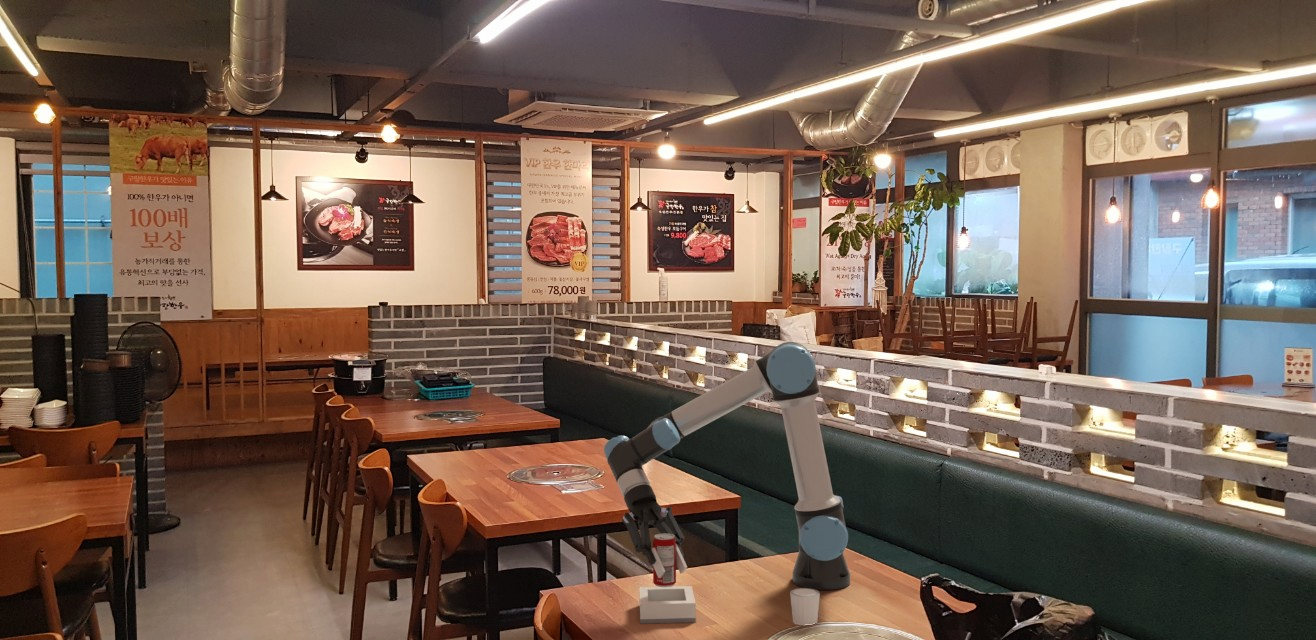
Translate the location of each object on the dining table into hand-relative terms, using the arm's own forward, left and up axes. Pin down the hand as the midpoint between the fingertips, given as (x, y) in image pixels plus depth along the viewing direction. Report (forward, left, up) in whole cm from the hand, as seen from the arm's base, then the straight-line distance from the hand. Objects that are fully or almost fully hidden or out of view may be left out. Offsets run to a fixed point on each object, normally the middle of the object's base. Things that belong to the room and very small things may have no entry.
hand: (672, 572), depth 227 cm
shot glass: (-31, +5, -11) cm, 33 cm away
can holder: (+1, -3, -11) cm, 11 cm away
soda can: (+2, -3, -4) cm, 6 cm away
